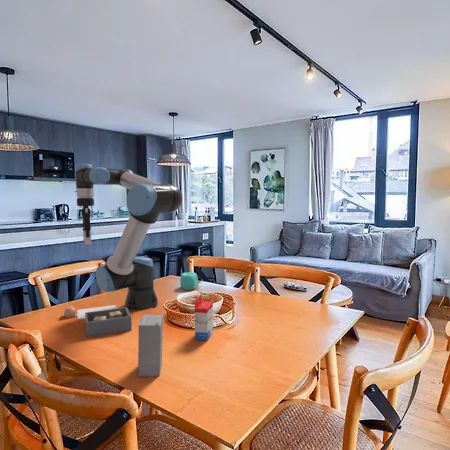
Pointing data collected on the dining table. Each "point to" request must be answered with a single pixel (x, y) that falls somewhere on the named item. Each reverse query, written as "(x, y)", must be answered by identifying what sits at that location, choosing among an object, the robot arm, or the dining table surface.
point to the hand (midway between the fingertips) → (87, 242)
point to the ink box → (203, 319)
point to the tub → (107, 322)
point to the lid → (83, 311)
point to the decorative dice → (189, 281)
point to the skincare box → (150, 345)
